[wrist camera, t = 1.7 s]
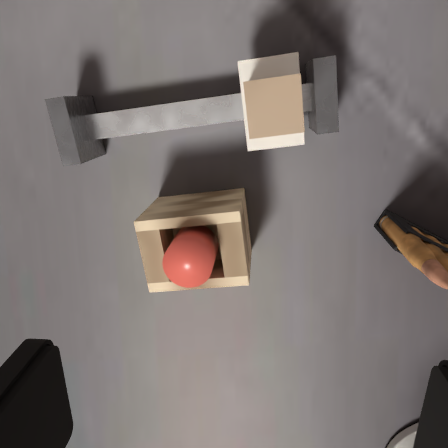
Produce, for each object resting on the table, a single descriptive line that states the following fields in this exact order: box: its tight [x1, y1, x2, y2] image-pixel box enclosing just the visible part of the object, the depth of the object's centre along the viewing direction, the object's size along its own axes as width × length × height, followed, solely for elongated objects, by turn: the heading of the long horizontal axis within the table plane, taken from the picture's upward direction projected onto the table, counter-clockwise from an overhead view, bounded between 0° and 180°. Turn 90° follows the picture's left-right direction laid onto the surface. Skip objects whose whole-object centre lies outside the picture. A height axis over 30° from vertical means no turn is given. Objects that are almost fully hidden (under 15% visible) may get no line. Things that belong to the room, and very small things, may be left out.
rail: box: [45, 55, 339, 166], centre depth 30 cm, size 21×5×5 cm, turn 98°
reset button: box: [162, 225, 218, 288], centre depth 29 cm, size 4×4×4 cm
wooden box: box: [134, 188, 252, 292], centre depth 32 cm, size 8×6×7 cm
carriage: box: [238, 52, 305, 151], centre depth 24 cm, size 4×6×9 cm, turn 8°
